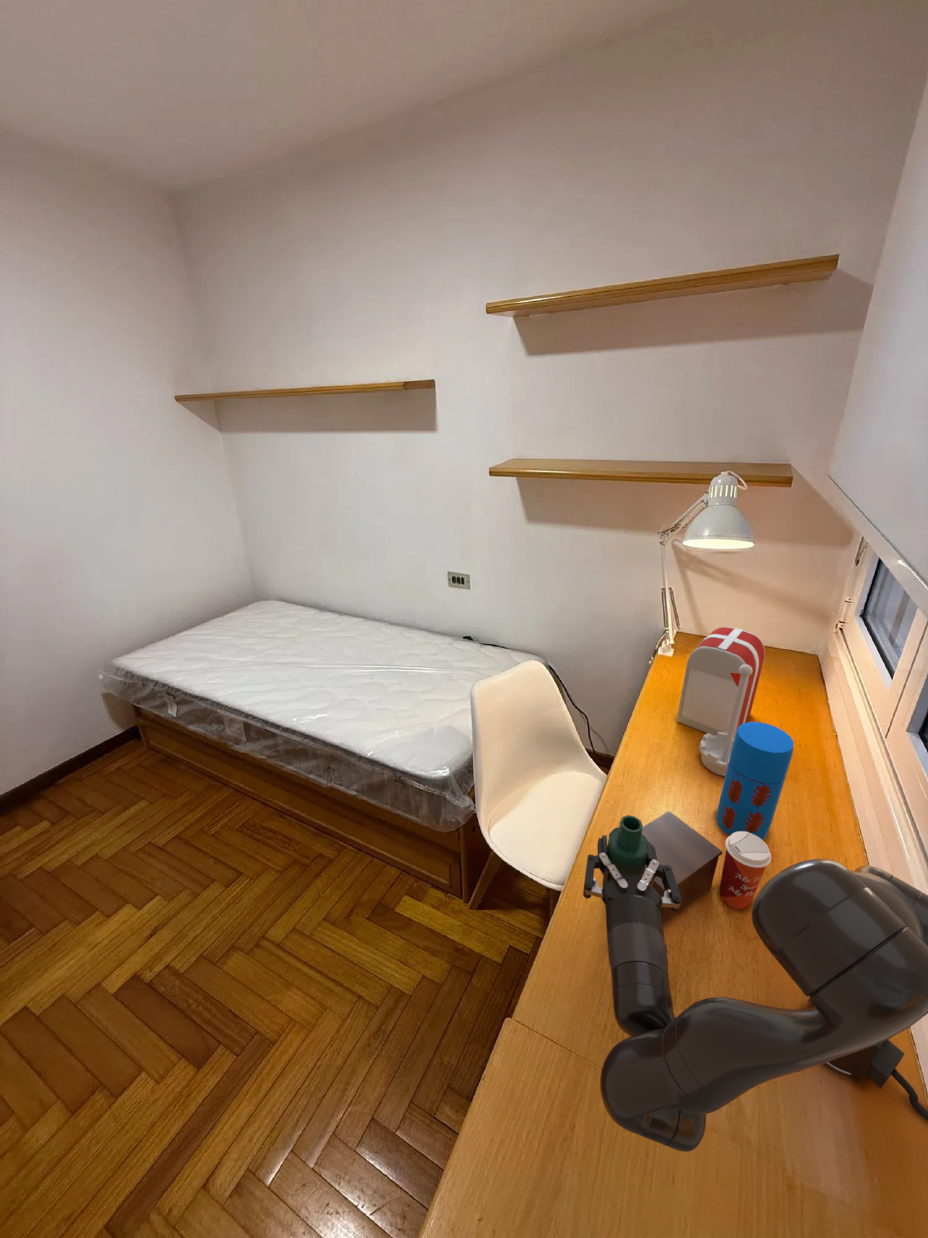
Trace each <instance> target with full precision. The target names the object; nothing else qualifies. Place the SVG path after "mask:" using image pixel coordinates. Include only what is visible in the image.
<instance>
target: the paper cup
mask: <svg viewBox="0 0 928 1238" xmlns="http://www.w3.org/2000/svg"><path fill="white" fill-rule="evenodd" d="M771 861H772V854H771V852H770V848H769V846H768V844H767V843H766V842H765V841H764V840H762V839H760V838H759V837H757V836H756V835H754V834H751V833H749V832H744V831H738V832H735V833H733V834H732V835H731V836H729V835H728V837H727V838H726V839H725V854H724V859H723V865H722V869H721V870H722V871H721V877H720V882H719V891H718V892H719V895H720V898H721V900H722V901H723V902H724V903H725V904H726V905H728V906H729V907H731V908H733V909H737V910H745V909H747V908H748V907H750V905H751V904H752V901H753V899H754V896H755V895H756V893H757V890H758V887H759V884H760V882H761V880H762V878H763V876H764V873H765V870H766V868H767V866H768V865H769V864H770V863H771Z"/></svg>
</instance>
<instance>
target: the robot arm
mask: <svg viewBox="0 0 928 1238" xmlns="http://www.w3.org/2000/svg"><path fill="white" fill-rule="evenodd" d="M648 843H649V848H648V855H647V860H646V870H645V872H644V874H643V876H641V874H628V873H626V872H620V871H618V869H617V868H616V866H615V865H614V863H611V861H610V860H609V858H608V848H607V846H608V836H607V835H605V834H602V835H601V837H598V839H597V844H596V849H597V854H596V855H594V854H591V853H590V854H588V855H587V857H586V858H587V859H586V865H585V866H586V868H585V876H584V882H583V883H584V884H583V892H582V896H583V897H584V898H585V899H591V897H592V896H593V897H596V898H600V899H601V900H602V903H603V904H604V907H605V922H606V923H605V924H606V939H607V957H608V964H609V968H610V974H611V975H610V976H611V990H612V992H611V993H612V1006H613V1007H612V1009H613V1015H614V1020H615V1022H616V1025H618V1028H619V1029H620V1030H622V1031H623V1032H624V1033H625V1034H626V1035H627V1036H628V1037H626V1038H624V1039H622V1040H621V1041H618V1043H616V1044H615V1045H614V1046H613V1047H612V1048H611V1049H610V1050H609V1052H608V1053H607V1055H606V1057H605V1059H604V1061H603V1064H602V1066H601V1070H600V1076H599V1077H600V1078H599V1090H600V1095H601V1100H602V1103H603V1107H604V1108H605V1110H606V1112H607V1114H608V1115H609V1117H610V1118H611V1120H612V1121H613V1122H614V1123H616V1124H617V1125H618V1126H619V1127H620V1128H622V1129H623V1130H625V1131H628V1132H630V1133H632V1134H634V1135H637V1136H641V1137H643V1138H646V1139H648V1140H650V1141H653V1142H655V1143H657V1144H660V1145H662V1146H664V1147H665V1146H666V1147H667V1148H670V1149H672V1150H676V1151H679V1152H684V1153H687V1152H692V1151H694V1150H696V1148H697V1147H699V1145H700V1144H701V1142H702V1140H703V1138H704V1134H705V1131H706V1127H707V1115H708V1114H712V1113H714V1112H717V1111H718V1110H720V1109H721V1108H722V1109H723V1107H725V1106H727V1105H729V1104H730V1103H731V1102H733V1101H735V1100H736V1099H738V1098H739V1097H740V1096H742V1095H744V1094H746V1093H747V1092H748V1091H750V1090H752V1089H754V1088H756V1087H758V1086H760V1085H762V1084H765V1083H767V1082H770V1081H772V1080H775V1079H779V1078H781V1077H784V1076H789V1075H793V1074H795V1073H800V1072H802V1071H806V1070H808V1069H811V1068H815V1067H818V1066H821V1065H823V1064H824V1065H825V1066H827V1067H828V1068H830V1069H831V1070H833V1071H835V1073H838V1074H841V1075H843V1076H846V1077H850V1078H851V1080H853V1081H854V1082H856V1083H857V1084H861V1082H862V1081H863V1080H864V1078H865V1077H867V1078H868V1079H869V1080H870V1081H871V1082H872V1083H873V1084H874V1085H876V1086H877V1088H879V1090H881V1089H883V1087H884V1086H885V1084H886V1082H887V1081H888V1080H889V1078H890V1077H891V1076H892V1078H893V1079H894V1080H896V1081H897V1083H898V1084H899V1085H900V1086H901V1087H902V1088H903V1089H904V1091H905V1092H906V1094H907V1095H908V1102H909V1103H910V1105H911V1107H912V1108H913V1109H914V1110H915V1111H916V1112H917V1113H918V1114H919V1115H920V1116H922V1117H923V1118H924V1120H926V1121H927V1122H928V1111H927V1110H926V1109H925V1107H923V1105H922V1104H921V1103H920V1102H919V1096H918V1094H917V1092H916V1091H915V1089H914V1087H913V1086H912V1085H911V1084H910V1082H908V1080H907V1079H905V1078H904V1076H903V1075H902V1074H901V1073H900V1072H899V1071H898V1069H896V1068H897V1067H898V1065H899V1064H900V1063H901V1061H902V1060H903V1059H902V1058H904V1056H905V1052H903V1050H901V1049H900V1048H899V1047H898V1046H896V1045H895V1044H894V1043H893V1042H892V1041H891V1040H890V1039H892V1038H894V1037H895V1036H897V1035H899V1034H901V1033H903V1032H904V1031H906V1030H907V1029H909V1028H911V1027H912V1026H914V1025H915V1024H916V1023H917V1022H919V1021H920V1020H921V1019H923V1018H924V1017H926V1015H928V894H927V893H924V892H922V891H921V890H919V889H918V888H916V887H914V886H913V885H910V884H909V883H907V882H906V881H903V880H902V879H900V878H898V877H896V876H894V875H893V874H891V873H890V872H888V871H886V870H884V869H882V868H879V867H877V866H874V865H867V864H866V865H862V866H859V867H857V868H855V869H854V870H850V869H849V867H848V868H847V867H846V865H844V864H842V863H840V862H839V861H837V860H834V859H832V858H812V859H807V860H803V861H800V862H797V863H794V864H792V865H789V866H787V867H786V868H784V869H782V870H780V871H779V872H777V873H776V874H774V875H773V876H772V877H770V878H769V879H768V880H767V881H766V882H765V883H764V884H763V886H762V887H761V888H760V889H759V891H758V893H757V895H756V896H755V898H754V901H753V903H752V907H751V922H752V925H753V928H754V930H755V932H756V934H757V935H758V937H759V938H760V940H761V942H762V944H763V945H764V946H765V947H766V949H767V950H768V951H769V953H770V954H771V955H772V957H774V959H775V960H776V961H777V962H778V964H779V965H780V966H781V967H782V968H783V970H784V971H785V972H786V973H787V974H788V976H789V977H790V979H791V980H792V981H793V982H794V983H795V985H796V986H797V987H798V988H799V990H800V991H801V992H802V993H803V994H804V995H805V997H807V998H808V999H807V1003H806V1005H805V1007H804V1008H803V1009H794V1008H793V1009H791V1008H781V1007H775V1006H770V1005H764V1004H760V1003H757V1002H752V1001H748V1000H743V999H737V998H733V997H725V996H714V997H713V996H712V997H707V998H706V997H705V998H703V999H700V1000H698V1001H696V1002H694V1003H692V1004H691V1005H689V1006H688V1007H687V1008H685V1010H683V1011H682V1012H680V1013H679V1014H678V1015H677V1016H676V1015H675V1011H674V1005H673V1000H672V998H673V997H672V991H671V986H670V985H671V984H670V978H669V959H668V947H667V943H666V939H665V938H666V937H665V932H664V926H663V925H664V924H663V925H662V918H661V912H660V909H661V907H670V908H671V910H672V911H674V912H677V911H679V907H680V903H681V895H680V892H679V889H678V886H677V883H676V880H675V877H674V874H673V871H672V868H671V867H670V866H669V865H664V866H663V865H661V864H659V863H658V861H657V856H656V850H655V847H654V845H651V843H650V841H648ZM596 869H599V871H600V873H601V874H602V877H603V876H604V880H605V882H606V885H605V886H604V887H603V886H602V887H601V886H600V885H599V882H598V880H597V878H596V877H595V878H594V875H595V870H596ZM656 876H657V877H660V878H661V879H662V882H663V886H664V889H665V892H664V896H663V897H661V896H660V895H659V893H658V892H657V891H656V890H655V889H654V888H653V887H652V884H653V882H654V880H655V878H656Z"/></svg>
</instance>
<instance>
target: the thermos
mask: <svg viewBox="0 0 928 1238" xmlns="http://www.w3.org/2000/svg"><path fill="white" fill-rule="evenodd" d="M794 742H795V741H794V740H793V738H792V737H791V736H790V734H788V733H787V732H786V731H784V730H783V729H781V728H780V727H777V726H775V725H772V724H769V723H767V722H759V721H748V722H747V721H746V723H743V724H742V725H740V726H739V727H738V729H737V732H736V735H735V739H734V743H733V747H732V751H731V755H730V759H729V764H728V768H727V772H726V776H724V781H723V784H722V789H721V792H720V797H719V800H718V805H717V812H716V816H715V817H716V818H715V819H716V823H717V826H718V827H719V828H720V829H721V831H722V832H723V833H725V834H726V835H727V836H728V837H729V836H731V835H732V834H733V833H735V832H738V831H744V832H749V833H751V834H754V835H756V836H757V837H759V838H760V839H762V840H763V841H764V840H765V839H766V838H767V836H768V834H769V831H770V828H771V826H772V823H773V819H774V817H775V813H776V811H777V806H778V803H779V800H780V797H781V793H782V790H783V787H784V784H785V780H786V777H787V774H788V771H789V767H790V764H791V760H792V758H793V753H794V745H795V743H794Z"/></svg>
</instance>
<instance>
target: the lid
mask: <svg viewBox="0 0 928 1238" xmlns="http://www.w3.org/2000/svg"><path fill="white" fill-rule="evenodd" d="M642 834H643V835H644V836H645V837H646V839H647V841H650V843H651V845H654V847H655V850H656V856H657V861H658V863H659V864H661V865H663V866H664V865H669V866H670V867H671V868H672V871H673V874H674V877H675V880H676V883H677V886H679V885H681V884H682V883H683V882H685V881H686V880H688V879H689V878H690V877H692V876H693V875H694V874H696V873H697V872H698V871H700V870H701V869H703V868H704V867H705V866H707V865H708V864H709V863H711V862H712V861H713V860H715V859H716V858H717V857H719V858H720V856H722V855H723V850H722V849H720V848H719V847H718V846H716V845H715V844H714V843H712V842H711V841H710V840H709V839H707V838H706V837H705V836H703V835H702V834H700V833H699V832H698V831H697V830H695V829H693V828H692V827H691V826H690V825H688V824H687V823H685V822H684V821H683V820H682V819H680V818H679V817H678V816H677V815H675V814H674V813H673V812H671V811H670V810H668V811H666V812H665V813H663V814H662V815H660V816H658V817H656V818H655V819H653V820H652V821H650V822H649V823H647V824H645V825H644V826H643V828H642ZM645 870H646V866H645ZM644 872H645V871H644ZM653 883H654V884H655V885H656V886H657V887H658V888H659V889H660V890H661V891H662V892H663V893H664V892H665V889H664V886H663V882H662V879H661V878H660V877H657V876H656V878H655V880H654V882H653Z"/></svg>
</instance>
